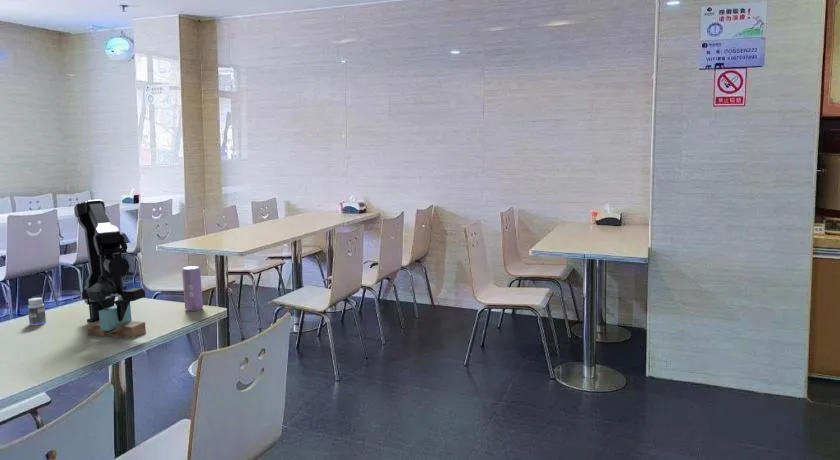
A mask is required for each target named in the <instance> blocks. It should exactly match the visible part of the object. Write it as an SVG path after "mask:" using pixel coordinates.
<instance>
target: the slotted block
mask: <svg viewBox="0 0 840 460" xmlns="http://www.w3.org/2000/svg"><path fill="white" fill-rule="evenodd" d="M86 327H87V335H88V336H100V337H113V338H114V337H117V338H129V339H130V338H131V339H133V338H135V337H137V336H141V335H143V334H145V333H146V321H137V320H136V321H135V320H132V321H128V322H126V323H123V324H121V325H118V326H116V328H114V329H112V330H109V331H107V330H101V329H100V320H99V321H96V322H95V321H93V322H91V323H89V324H87V326H86Z"/></svg>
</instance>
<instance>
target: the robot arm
mask: <svg viewBox="0 0 840 460" xmlns="http://www.w3.org/2000/svg"><path fill="white" fill-rule="evenodd" d="M73 212H74V216H75V218H76V219H77V223H78V225H80V226H81V228H82V229H83V231H84V238H85V245H86V252H87V258H88V259H87V260H88V266H89V274H88V276H87V278H86V280H85V285H86V286H84V289H83V290H82V292H81V298H82V300H83V301H84V303H85V304H86V305H88V310H89V311H88V312H89V318H87V319H86V321H87V322H96V321H99V320H100V319H99V311H100V310H102V309H105V308H108V307H111V306H114V305H117V313H118V319H119V321H122V320H123V317H124V315H125V312H126V310H127V307H128V305H129V304H130V305H131V302H136V301H138V300H141V299H143V298H146V290H145V289H144V288H143V287H141V288H140V287H132V288H130V289H129V288H128V289H127V285H124V282H123V277H126V274H127V273H128V272H129V269H130V263H129V260H127V259H126V258H125V257H123V255H122V254H125V253H128V252H127V249H128V244H127V241H126V239H125V236H124V235H123V233H121V232H120V229H119V228H118V227H117V226H115V225H114V224H112V223H111V221H110V219H109V216H108V214H107V211H106V205H105V202H104V200H102V199H87V200H85V201H83V202H78V203H77V204H75V205H74V210H73ZM116 298H117V300H116Z"/></svg>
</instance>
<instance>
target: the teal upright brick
mask: <svg viewBox="0 0 840 460" xmlns="http://www.w3.org/2000/svg"><path fill="white" fill-rule="evenodd" d="M99 319H100V329H101V330H107V331H109V330H112V329H114V328H116V326H118V325H121V324H123V323H126V322H128V321H133V320H132V311H131V303H130V304H129V305H128V307H127V310H126V312H125V315H124V317H123V320H122V321H119V319H118V313H117V305H116V304H114V306H111V307H108V308H105V309H102V310H100V311H99Z"/></svg>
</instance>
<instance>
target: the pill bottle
mask: <svg viewBox="0 0 840 460" xmlns="http://www.w3.org/2000/svg"><path fill="white" fill-rule="evenodd" d="M27 301H28V305H27V312H28V313H27V314H28V322H29V325H30V326H40V325H44V324H46V323H47V319H46V318H47V317H46V310H45V304H44V301H43V297H32V298H28V300H27Z"/></svg>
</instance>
